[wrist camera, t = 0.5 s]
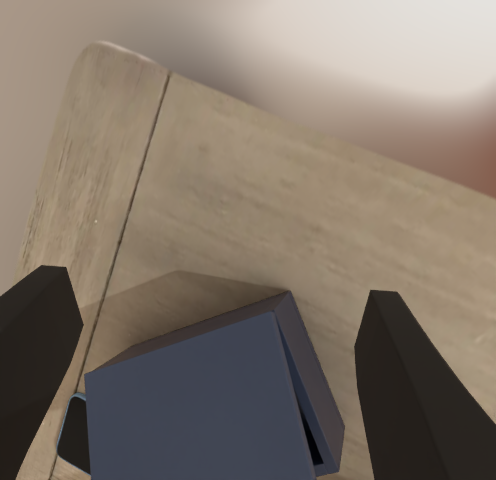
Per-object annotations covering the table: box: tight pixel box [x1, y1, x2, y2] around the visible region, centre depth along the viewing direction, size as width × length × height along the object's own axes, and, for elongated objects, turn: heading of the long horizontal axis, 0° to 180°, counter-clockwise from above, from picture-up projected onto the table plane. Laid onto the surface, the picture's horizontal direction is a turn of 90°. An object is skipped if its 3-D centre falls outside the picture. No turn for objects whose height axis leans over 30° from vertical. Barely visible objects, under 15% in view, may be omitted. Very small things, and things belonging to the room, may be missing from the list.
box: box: [93, 291, 345, 477], centre depth 34 cm, size 12×16×6 cm
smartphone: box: [56, 393, 91, 476], centre depth 40 cm, size 7×1×15 cm
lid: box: [84, 311, 317, 480], centre depth 28 cm, size 12×16×1 cm
